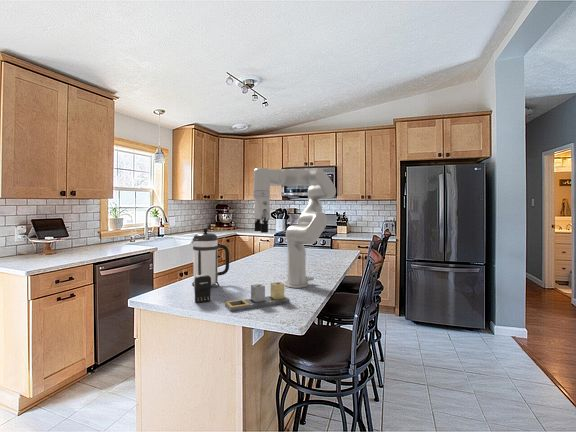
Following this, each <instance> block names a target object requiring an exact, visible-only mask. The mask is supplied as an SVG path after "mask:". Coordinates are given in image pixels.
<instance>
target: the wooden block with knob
mask: <svg viewBox="0 0 576 432" xmlns="http://www.w3.org/2000/svg"><path fill="white" fill-rule="evenodd" d="M270 296H271V299H272V300H274V301H275V300H282V299H284V296H285V283H283V282H281V281H276V282H270Z"/></svg>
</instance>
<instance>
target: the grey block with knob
mask: <svg viewBox="0 0 576 432" xmlns="http://www.w3.org/2000/svg"><path fill="white" fill-rule="evenodd" d="M265 297H266V286H265V285H263V284H262V283H259V284H251V285H250V299H251V302H253V303H261V302H265Z"/></svg>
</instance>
